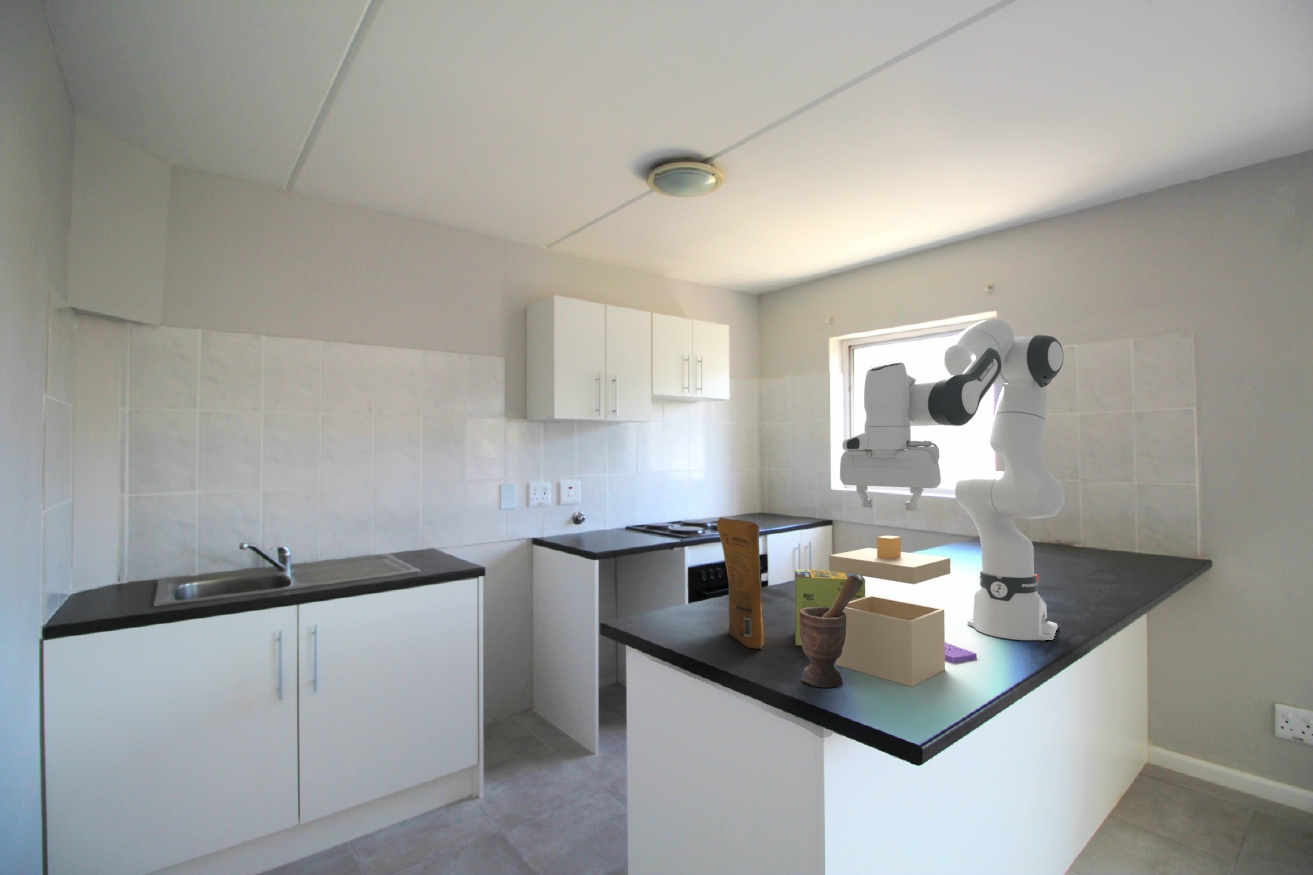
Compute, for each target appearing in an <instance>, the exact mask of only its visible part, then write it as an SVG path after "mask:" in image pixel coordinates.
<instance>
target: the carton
mask: <svg viewBox="0 0 1313 875" xmlns="http://www.w3.org/2000/svg"><path fill="white" fill-rule="evenodd" d="M842 612H844V613H845V614H846V636H845V643H844V645H843V648H842V654H841V656H840V657H839V658H838V659H837V660H836V661H835V666H839V667H842V668H846V669H849V670H853V671H856V672H859V673H862V674H866V675H870V676H873V677H876V678H880V679H883V680H887V681H889V682H893V683H898V684H901V685H904V686H908V687H910V688H913V687H915V686H917V685H919V684H921V683H923V682H925V681H926V680H928V679H929V678H932V677H934V676H935V675H937V674H939V673H942V672H943V671H945V670H946V660H945V642H946V641H945V637H946V636H945V633H946V631H945V608H940V607H933V606H930V605H929V606H928V605H924V604H917V603H913V602H912V603H911V602H907V601H903V600H902V601H901V600H896V599H891V598H885V597H881V596H874V595H868V596H865V597H864V598H861V599H857V600H854V601H850V602H849V603H848V604H847V606H846V607H845V608H844V610H843V611H842Z"/></svg>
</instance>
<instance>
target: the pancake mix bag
mask: <svg viewBox="0 0 1313 875" xmlns="http://www.w3.org/2000/svg"><path fill="white" fill-rule="evenodd" d="M716 529H717V532H718V535H719V538H720V542H721V547H722V552H723V557H724V558H723V559H724V564H725V567H726V572H727V573H726V574H727V579H728V580H727V582H728V635H729V636H731V638H733V639H734V640H736V641H738V642H739V643H741V645H743V646H744V647H745V648H751V649H757V650H758V649H761V650H763V646H764V645H765V638H764V636H765V635H764V620H763V617H764V616H763V607H762V606H763V605H762V577H761V560H760V557H761V555H760V529H761V526H759V524H756V522H752V521H749V520H742V519H732V518H731V519H730V518H727V517H725V518H724V517H719V518H718V520H716Z"/></svg>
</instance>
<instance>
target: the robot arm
mask: <svg viewBox="0 0 1313 875" xmlns="http://www.w3.org/2000/svg"><path fill="white" fill-rule="evenodd" d="M942 358H943V364H944V368H945V370H946V371H947V373H948V374H949V376H945V377H944V376H943V377H936V378H929V379H928V378H925V379H917V378H915V377H914V376H912V375H910V373H909V372H908V368H907V365H906V363H904V362H901V361H896V362H889V363H884V364H882V363H881V364H876V365H873V366H871V367H870V368H868V370H867V372H866V375H865V379H864V389H863V390H864V391H863V408H864V411H865V414H866V417H865V418H866V419H865V422H864V432H862V433H861V434H860V433H859V434H858V435H855V436H853V437H852V436H851V437H850V438H847V439H845V440H843V441H842V449H843V450H844V452H843V453H842V455H841V457H840V464H839V465H840V466H839V467H840V468H839V479H840V482H841V483H842V484H843V485H844V486H856V493H857V494H858V497H859V498H860V500H861V507H862V508H865V509H870V508H871V509H872V508H873V499H872V498H869V496H868V493H867V491H868V487H887V488H888V487H889V488H909V489H910V490H909V491H910V494H912V496H911V498H910V499H909V500H908V501H905V503H904V504H905V505H904V506H905V507H904V508H905V511H906V512H907V511H909V512H914V511H915V512H916V511H917V505H918V504H917V502H918V501H919V499H920V498H921V496H922V494H923V489H937V488H938V487H939V486H940V484H941V480H942V479H941V470H940V464H939V460H940V449H939V446H938V445H937V444H936V443H933V442H932V441H931V440H923V441H922V440H921V441H920V440H911V439H912V438H911V437H912V436H911V427H918V426H919V427H920V426H921V427H922V426H923V427H924V426H954V427H955V426H957V427H961V426H964V425H966V424H968V422H970V421H971V420H972V419H973V418H974V416H975V415H976V413H977V411H978V408H979V406H980V403H981V401H982V400H983V398H984V397H985V395H986V394H987V393H988V391H989V390H990V389H991V387H992V385H993V384H997V385H998V384H999V385H1001V384H1002V389H1001V392H1000V394H999V398H998V400H997V404H996V408H995V411H994V412H995V413H994V417H993V423H992V428H991V434H990V440H989V443H990V447H991V448H992V450H993V451H994V452H995V453H996V454H997V455H999V456H1001V457H1002V458H1003V459H1004V467H1005V469H1004V471H993V470H992V471H987V470H986V471H985V470H981V471H980V470H979V471H976V472H975V471H974V472H970V473H966V474H963V475H961V476H960V478H959V479H958V480H957V483H956V484H955V488H954V494H955V495H954V496H955V500H956V501H957V503H958V505H959V507H961V508H962V509H963V510H964V511H965V512H966V513H967V514H968V515H969V516H970V518H971V521H973V524H974V526H975V528H976V530H977V533H978V536H979V537H978V538H979V542H980V548H981V549H980V551H981V552H980V553H981V571H979V585H980V588H979V590H977V591H976V592H974V597H973V613H972V618H971V619H968V620H967V622H966V623H967V625H969V626H970V627H973V628H974V629H975V630H976V631H978V632H980V633H982V634H985V635H988V636H992V637H995V638H996V637H997V638H1002V639H1007V640H1015V641H1016V640H1017V641H1018V640H1019V641H1045V640H1053V639H1055V637H1054V636H1056V634H1055V633H1057V632H1056V630H1057V631H1058V629H1057V628H1059V626H1058V623H1056V622H1052V621H1050V620H1048V613H1047V612H1048V610H1047V608H1048V607H1047V603H1046V602H1045V601H1044V599H1043V598H1042V597H1041V596H1040V594H1039V593H1038V590H1039V588H1038V583H1039V579H1040V577H1039V574H1035V552H1034V550H1035V547H1034V544H1033V542H1032V540H1031V539H1030V538H1029V537H1028V536H1026V535H1025V534H1023V533H1022V532H1021V531H1020V530H1019V529H1018V528H1017V526H1016V524H1015V522H1014V519H1013V518H1016V519H1017V518H1019V519H1026V520H1027V519H1028V520H1037V519H1046V518H1053V517H1055V516H1056V515H1058V514H1059V512H1061V510H1062V508H1063V507H1064V504H1065V499H1066V494H1065V489H1064V487H1063V485H1062V484H1061V482H1060V481H1059V480H1058V479H1057V478H1056V477H1055V476H1054V475H1052V474H1053V473H1051V472H1050V471H1049V469H1048V468H1047V465H1046V462H1045V461H1044V456H1043V443H1044V434H1045V426H1046V420H1047V410H1048V394H1047V393H1048V392H1047V386H1048V385H1050V383H1051V382H1052V380H1053V379H1054V378H1055V377H1056V376H1057V375H1058V374H1059V372H1060V371H1061V369H1062V367H1063V364H1064V349H1063V347H1062V344H1061V343H1060V341H1059V340H1058V339H1057V338H1056V337H1055V336H1052V335H1044V334H1037V335H1034V336H1029V335H1028V336H1015V334H1014V330H1013V329H1012V327H1011V326H1010V325H1009V324H1008V323H1007V322H1006V321H1004V320H1002V319H998V318H988V319H985V320H982V321H979V322H977V323H975V324H973V325H971V326H969V327H968V328H966V329H964V330H963V331H962V332H960V333H958V335H956V336H955V337H954V338H953V339H952V340H951V341H950V342H949V343H948V344H947V345H946V347H945V349H944V351H943V356H942ZM1053 641H1054V640H1053Z"/></svg>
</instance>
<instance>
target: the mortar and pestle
mask: <svg viewBox="0 0 1313 875" xmlns="http://www.w3.org/2000/svg"><path fill="white" fill-rule="evenodd" d="M861 585H862V581H861V580H860V579H859V578H857V577H855V576H853V575H851V576H849V577H848V578H847V579H846V581H845V583H844V585H843V586H842V588H841V590H840V593H839V595H838V597H837V599H836V600H835V602H834V604H833V606H832V607H831V608H827V607H806V608H801V609H800V637H801V641H802V644H803V646H801V647H802V650H803V653H804V655H806V657H807V658H808V660H809V663H810V664H809V665H808V666H805V668H804V669H803V671H802V673H801V681H803V682H804V683H806V684H808V685H811V686H814V687H817V688H834V687H835V688H836V687H838V686H840V685H841V684H843V678H842V676H841V673H840V671H839V670H837V668H836V667H835V663H836V660H837V659H838V658H839V657H840V656H841V654H842V648H843V645H844V643H845V636H846V614H845V613H844V612H842V611H843V610H844V608H845V607H846V606H847V604H848V603H849V602H850V600H851V599H852V598H853V597H854V596H855V595H856V593H857V592H858V591H859V589H860V587H861Z"/></svg>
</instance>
